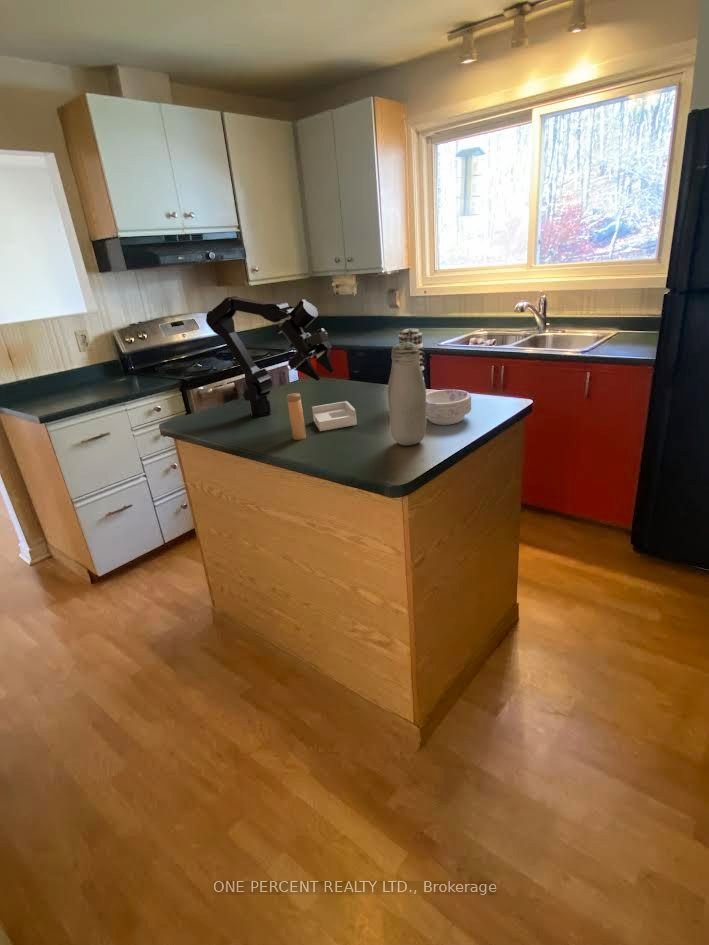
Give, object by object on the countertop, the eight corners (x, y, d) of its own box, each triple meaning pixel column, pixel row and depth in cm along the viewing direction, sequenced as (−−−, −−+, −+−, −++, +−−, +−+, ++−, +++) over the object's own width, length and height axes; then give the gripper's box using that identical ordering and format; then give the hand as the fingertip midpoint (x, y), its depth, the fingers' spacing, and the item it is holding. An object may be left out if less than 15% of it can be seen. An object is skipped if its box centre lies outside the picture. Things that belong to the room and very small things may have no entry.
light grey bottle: (402, 453, 139) (396, 348, 128) (385, 442, 148) (378, 343, 136) (434, 444, 142) (430, 342, 131) (415, 434, 151) (410, 337, 140)
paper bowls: (411, 423, 160) (410, 398, 157) (440, 410, 170) (440, 386, 167) (452, 432, 150) (452, 405, 147) (480, 417, 160) (481, 392, 156)
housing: (320, 431, 162) (318, 415, 160) (313, 421, 172) (311, 406, 170) (357, 424, 164) (355, 409, 162) (348, 415, 174) (347, 400, 172)
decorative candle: (410, 408, 174) (406, 333, 164) (395, 402, 182) (390, 330, 172) (432, 402, 178) (429, 328, 168) (416, 397, 186) (413, 326, 176)
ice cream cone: (294, 440, 156) (287, 397, 151) (292, 436, 160) (285, 394, 154) (307, 438, 157) (301, 395, 151) (304, 434, 160) (299, 392, 155)
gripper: (296, 326, 153) (327, 369, 154) (327, 316, 168) (355, 355, 169) (274, 348, 159) (305, 389, 160) (306, 336, 174) (333, 374, 175)
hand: (326, 376), depth 166 cm, fingers open, 9 cm apart
